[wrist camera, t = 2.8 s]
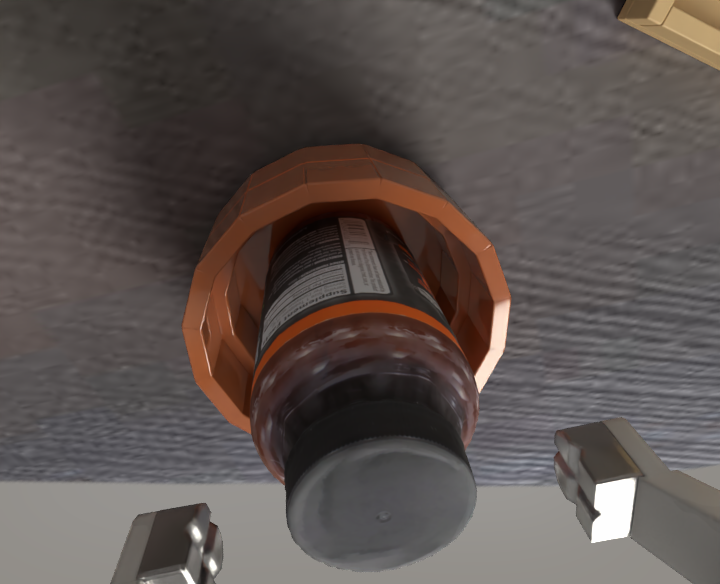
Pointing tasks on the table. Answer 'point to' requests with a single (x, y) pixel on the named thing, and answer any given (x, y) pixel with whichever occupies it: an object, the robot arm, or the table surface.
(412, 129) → the table surface
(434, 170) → the table surface
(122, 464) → the table surface
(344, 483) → the supplement bottle
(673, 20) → the tray
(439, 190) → the bowl
